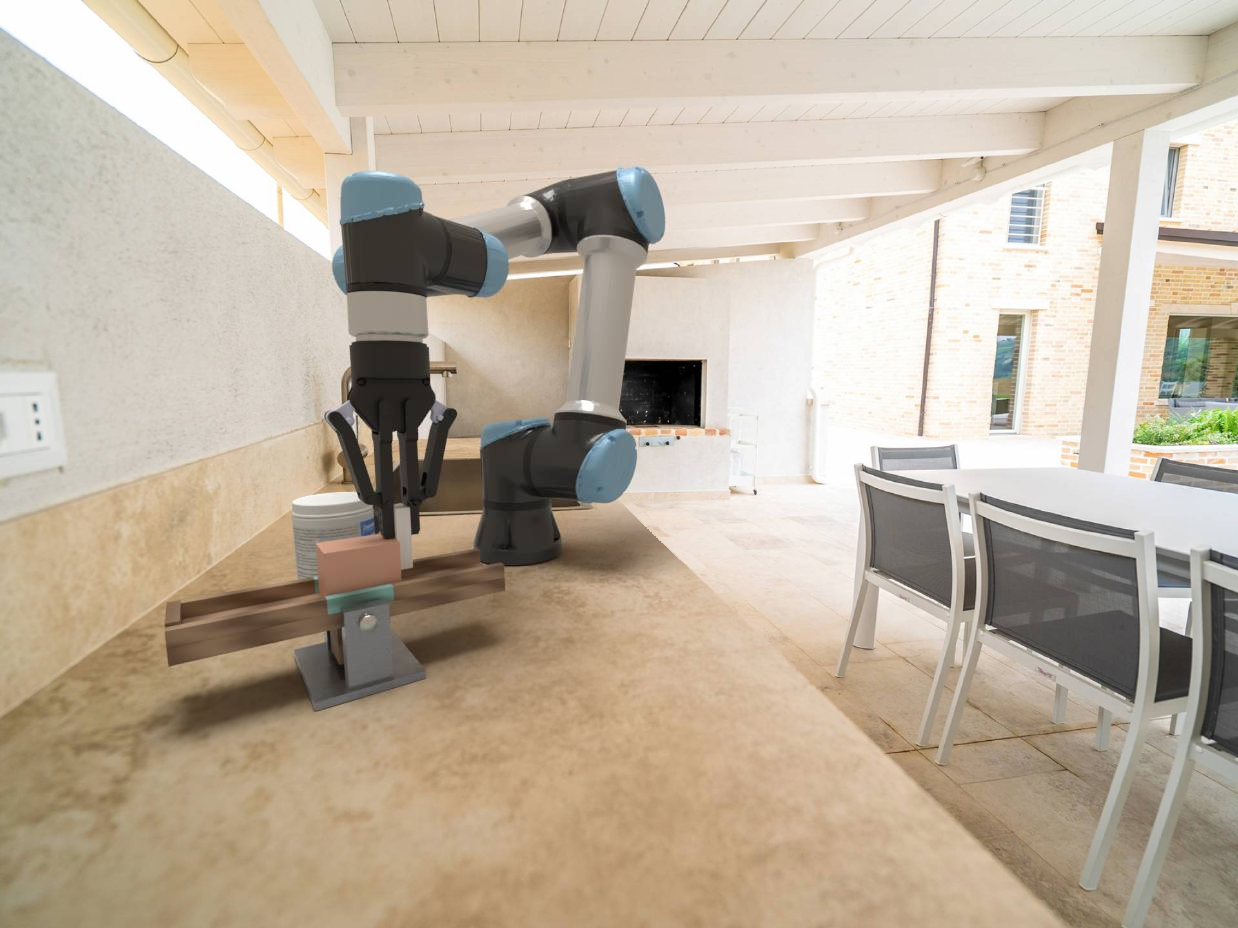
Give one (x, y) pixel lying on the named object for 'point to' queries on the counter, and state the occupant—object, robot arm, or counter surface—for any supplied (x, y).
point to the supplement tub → (326, 525)
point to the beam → (315, 607)
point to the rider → (357, 564)
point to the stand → (358, 658)
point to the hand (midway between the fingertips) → (402, 565)
